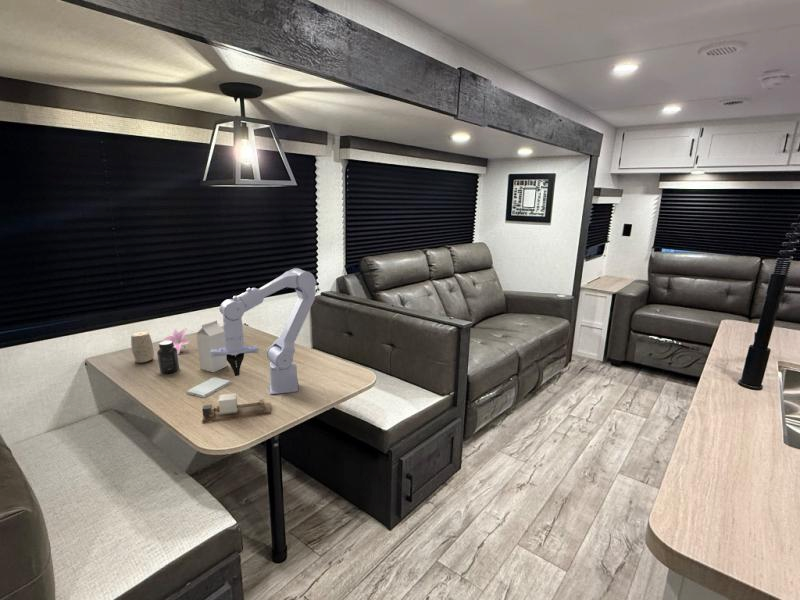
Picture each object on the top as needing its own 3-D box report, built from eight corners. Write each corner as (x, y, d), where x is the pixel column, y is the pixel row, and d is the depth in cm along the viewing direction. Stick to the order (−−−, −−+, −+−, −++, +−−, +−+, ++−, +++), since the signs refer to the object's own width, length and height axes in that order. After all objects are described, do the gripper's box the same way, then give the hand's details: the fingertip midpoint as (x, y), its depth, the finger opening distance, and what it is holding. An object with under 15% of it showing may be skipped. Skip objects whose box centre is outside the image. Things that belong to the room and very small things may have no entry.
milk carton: (227, 366, 168) (223, 321, 163) (213, 372, 162) (208, 326, 157) (214, 363, 171) (210, 318, 166) (200, 369, 165) (195, 323, 160)
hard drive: (213, 376, 156) (185, 390, 145) (230, 380, 153) (203, 395, 142) (213, 380, 156) (186, 394, 145) (230, 384, 154) (204, 399, 142)
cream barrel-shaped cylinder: (132, 360, 172) (128, 333, 169) (153, 356, 176) (149, 329, 173) (135, 365, 167) (130, 337, 164) (156, 361, 172) (152, 333, 169)
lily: (163, 350, 186) (154, 336, 179) (188, 335, 192) (180, 321, 186) (176, 364, 180) (167, 350, 173) (201, 349, 186) (193, 334, 180)
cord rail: (270, 404, 138) (269, 394, 138) (270, 413, 133) (270, 403, 132) (204, 413, 132) (203, 402, 132) (202, 422, 127) (201, 412, 126)
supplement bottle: (160, 369, 164) (156, 340, 161) (179, 366, 167) (176, 338, 164) (159, 376, 158) (155, 346, 155) (179, 373, 161) (176, 343, 158)
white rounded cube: (237, 407, 134) (236, 393, 133) (237, 413, 131) (235, 398, 129) (221, 409, 133) (219, 395, 132) (219, 415, 129) (218, 401, 128)
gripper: (208, 342, 129) (212, 382, 133) (257, 338, 134) (259, 377, 137) (210, 334, 136) (214, 373, 139) (257, 331, 140) (260, 368, 144)
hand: (237, 374), depth 139 cm, fingers closed
